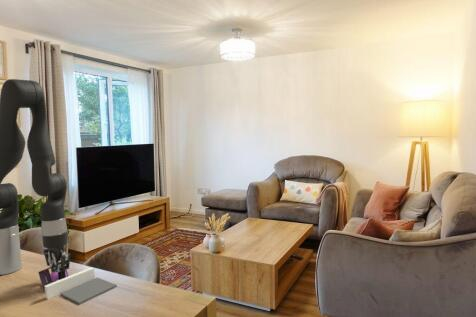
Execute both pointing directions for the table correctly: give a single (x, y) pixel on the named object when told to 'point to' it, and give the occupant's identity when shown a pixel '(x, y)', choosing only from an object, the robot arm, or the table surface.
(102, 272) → the table surface
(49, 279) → the purple framed toy figure
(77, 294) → the rubber mat
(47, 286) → the low wall
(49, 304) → the table surface
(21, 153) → the robot arm
